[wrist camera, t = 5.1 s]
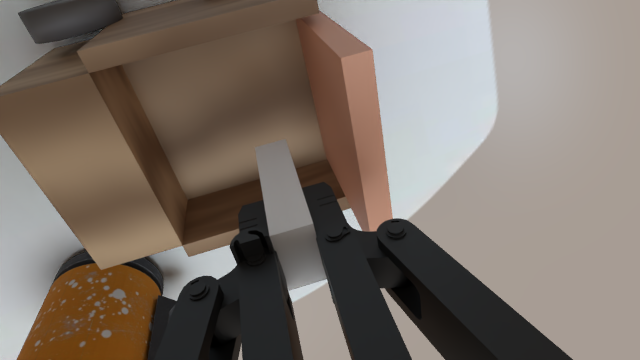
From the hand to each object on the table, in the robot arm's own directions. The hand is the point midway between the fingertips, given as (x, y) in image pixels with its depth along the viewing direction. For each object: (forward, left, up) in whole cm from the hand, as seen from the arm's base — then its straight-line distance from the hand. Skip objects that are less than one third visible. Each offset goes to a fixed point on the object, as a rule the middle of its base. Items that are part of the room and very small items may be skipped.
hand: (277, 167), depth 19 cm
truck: (0, -4, -13) cm, 14 cm away
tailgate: (0, +4, -8) cm, 9 cm away
